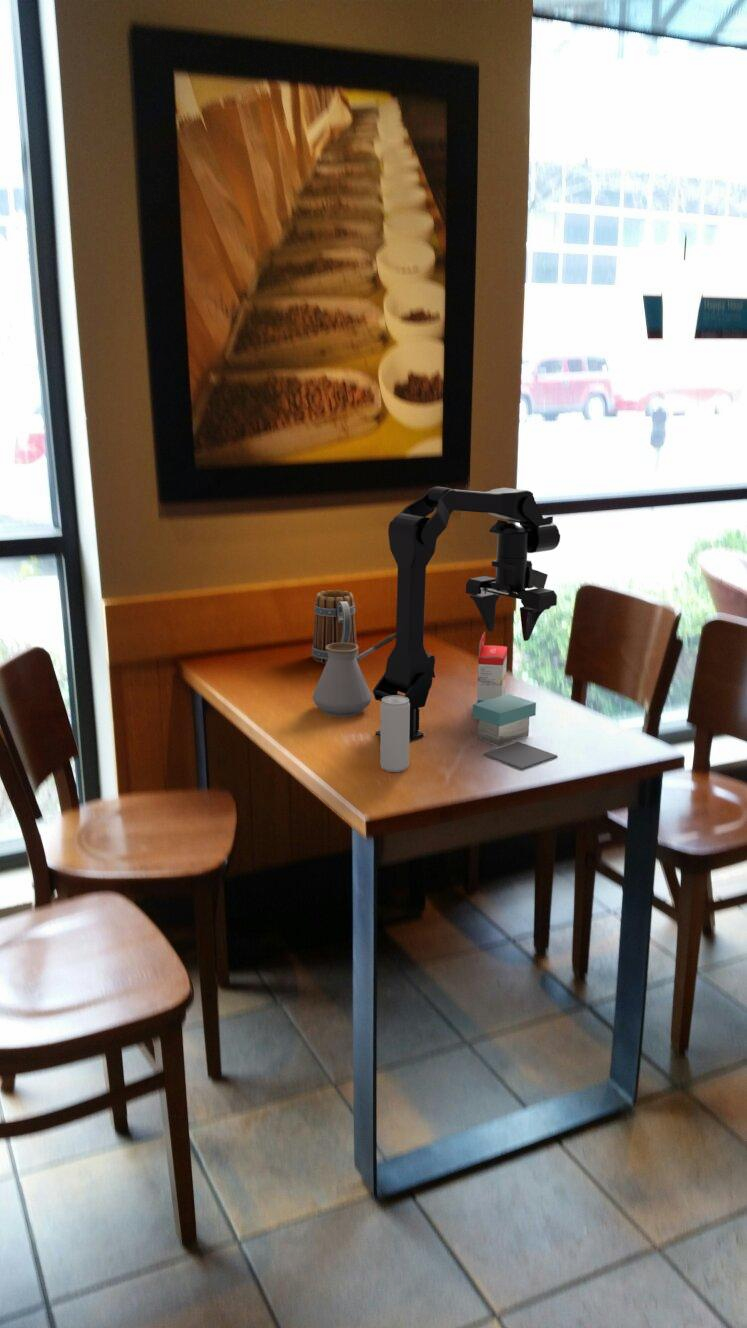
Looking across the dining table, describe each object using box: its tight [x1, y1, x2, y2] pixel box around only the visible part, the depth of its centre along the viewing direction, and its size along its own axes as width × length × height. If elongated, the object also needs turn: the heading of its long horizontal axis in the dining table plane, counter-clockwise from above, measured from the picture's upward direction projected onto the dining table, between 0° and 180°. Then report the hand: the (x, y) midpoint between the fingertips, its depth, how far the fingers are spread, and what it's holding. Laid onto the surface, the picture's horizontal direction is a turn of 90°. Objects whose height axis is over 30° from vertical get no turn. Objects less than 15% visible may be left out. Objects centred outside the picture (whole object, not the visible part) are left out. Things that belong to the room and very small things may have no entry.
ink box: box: [476, 631, 508, 703], centre depth 209 cm, size 8×5×15 cm, turn 168°
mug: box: [311, 589, 359, 665], centre depth 241 cm, size 16×11×15 cm
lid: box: [472, 693, 537, 726], centre depth 194 cm, size 9×7×2 cm
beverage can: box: [379, 695, 410, 773], centre depth 180 cm, size 5×5×12 cm
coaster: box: [482, 741, 558, 771], centre depth 186 cm, size 9×9×1 cm
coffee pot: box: [312, 632, 396, 718], centre depth 210 cm, size 21×12×15 cm, turn 121°
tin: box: [477, 717, 530, 747], centre depth 195 cm, size 8×5×5 cm, turn 131°
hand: (508, 635), depth 209 cm, fingers open, 9 cm apart
